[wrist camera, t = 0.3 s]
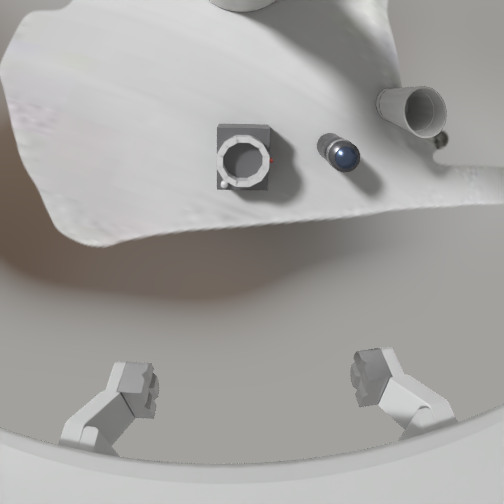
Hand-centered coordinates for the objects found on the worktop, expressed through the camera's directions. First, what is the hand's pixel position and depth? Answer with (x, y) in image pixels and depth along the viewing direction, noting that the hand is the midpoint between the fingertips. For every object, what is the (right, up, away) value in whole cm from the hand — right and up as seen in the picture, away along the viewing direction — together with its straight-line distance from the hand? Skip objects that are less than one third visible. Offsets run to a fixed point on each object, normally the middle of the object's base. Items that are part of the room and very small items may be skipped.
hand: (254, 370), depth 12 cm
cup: (+25, +31, +37) cm, 54 cm away
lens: (+13, +23, +41) cm, 49 cm away
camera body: (-2, +21, +41) cm, 46 cm away
